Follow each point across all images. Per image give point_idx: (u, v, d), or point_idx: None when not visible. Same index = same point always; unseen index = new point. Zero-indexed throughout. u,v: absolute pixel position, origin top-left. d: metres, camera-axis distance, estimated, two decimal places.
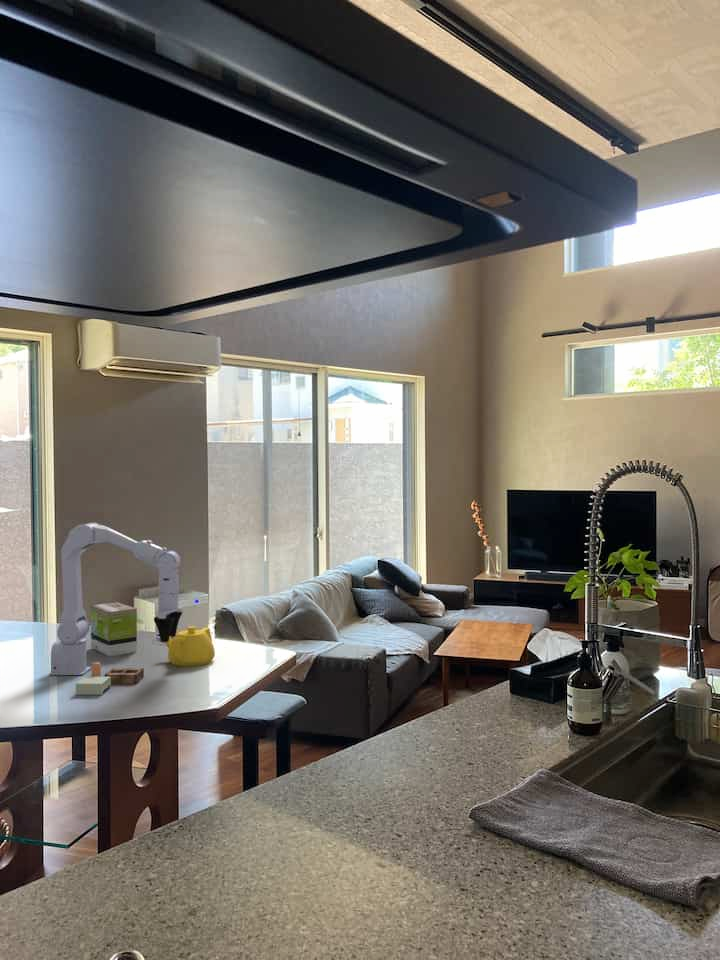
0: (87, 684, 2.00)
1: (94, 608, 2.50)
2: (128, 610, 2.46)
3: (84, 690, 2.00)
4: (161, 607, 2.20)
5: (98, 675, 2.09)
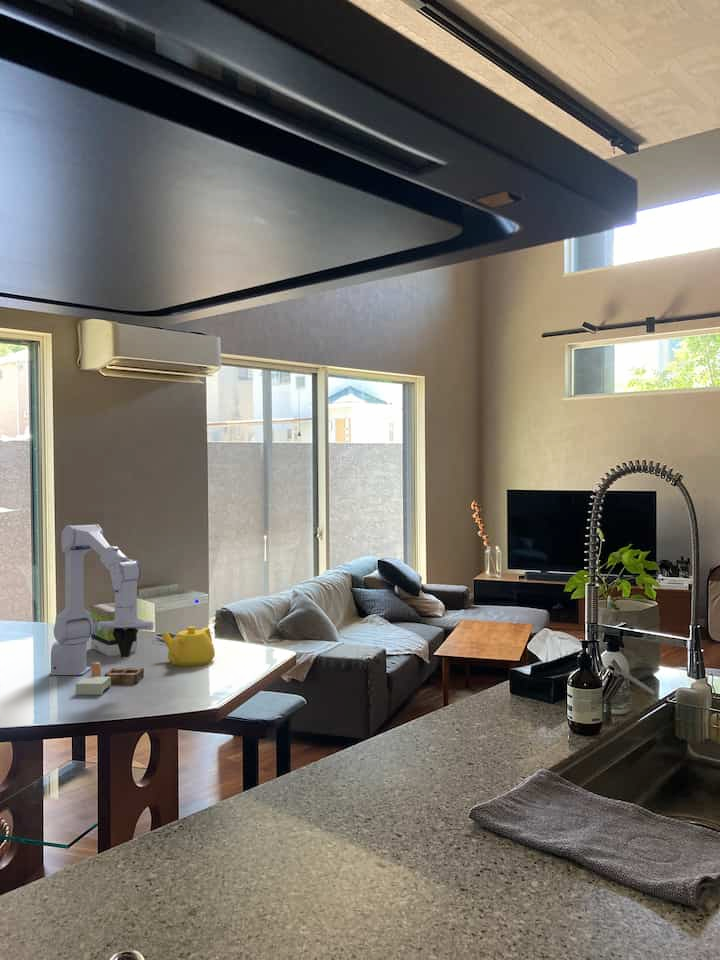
0: (87, 684, 2.00)
1: (94, 608, 2.50)
2: None
3: (84, 690, 2.00)
4: None
5: (98, 675, 2.09)
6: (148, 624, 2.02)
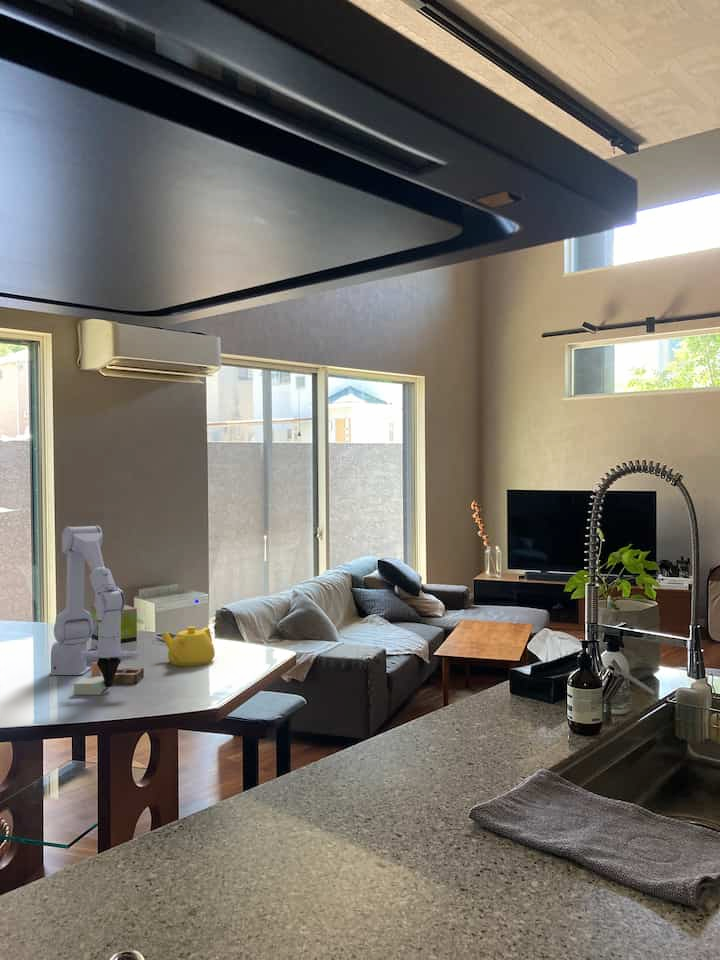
0: (85, 684, 2.00)
1: (94, 608, 2.50)
2: (128, 610, 2.46)
3: (82, 690, 2.00)
4: None
5: (98, 675, 2.09)
6: (132, 654, 2.02)
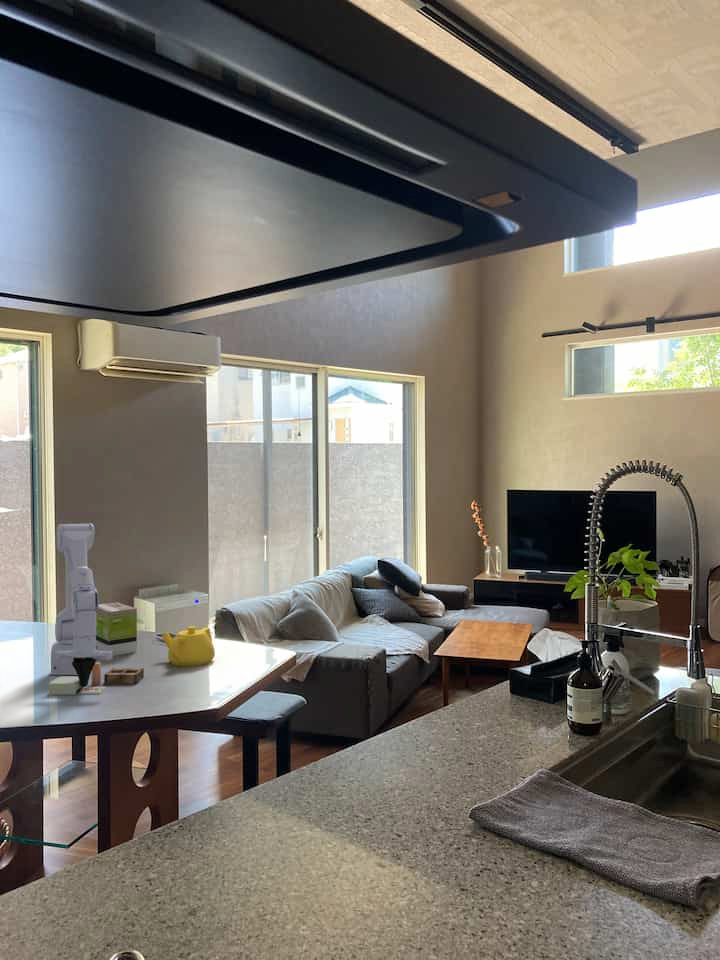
0: (60, 684, 2.00)
1: None
2: (128, 610, 2.46)
3: (57, 690, 2.00)
4: None
5: (98, 675, 2.09)
6: (107, 654, 2.02)
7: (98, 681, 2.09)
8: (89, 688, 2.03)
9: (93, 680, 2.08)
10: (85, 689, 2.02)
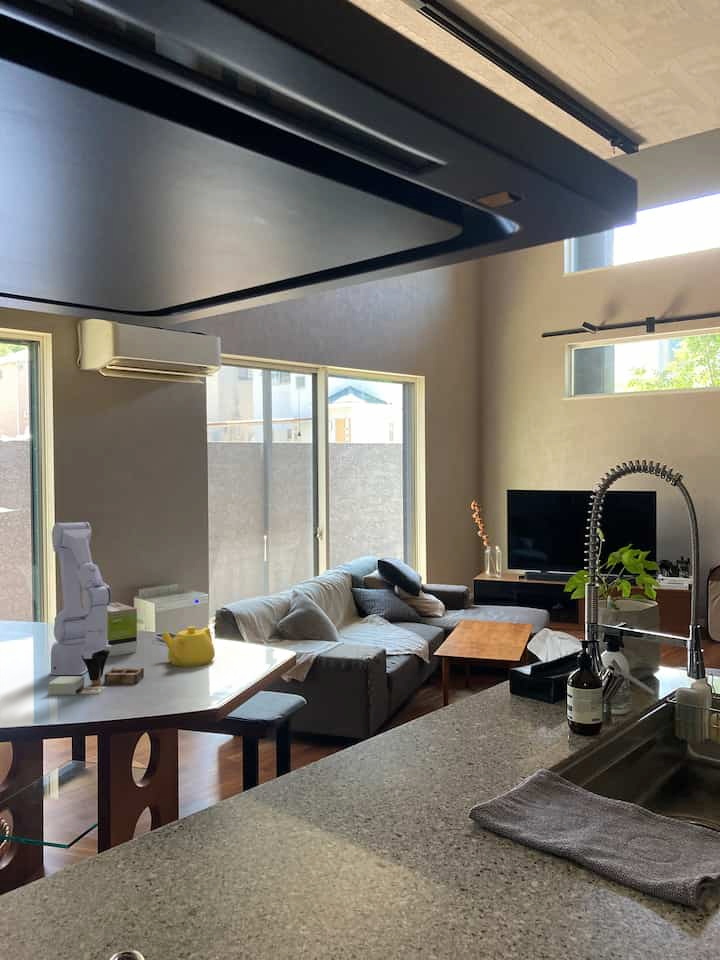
0: (60, 684, 2.00)
1: None
2: (128, 610, 2.46)
3: (56, 690, 2.00)
4: (88, 645, 2.07)
5: None
6: (107, 641, 2.16)
7: (98, 681, 2.09)
8: (89, 688, 2.03)
9: (93, 680, 2.08)
10: (85, 689, 2.02)
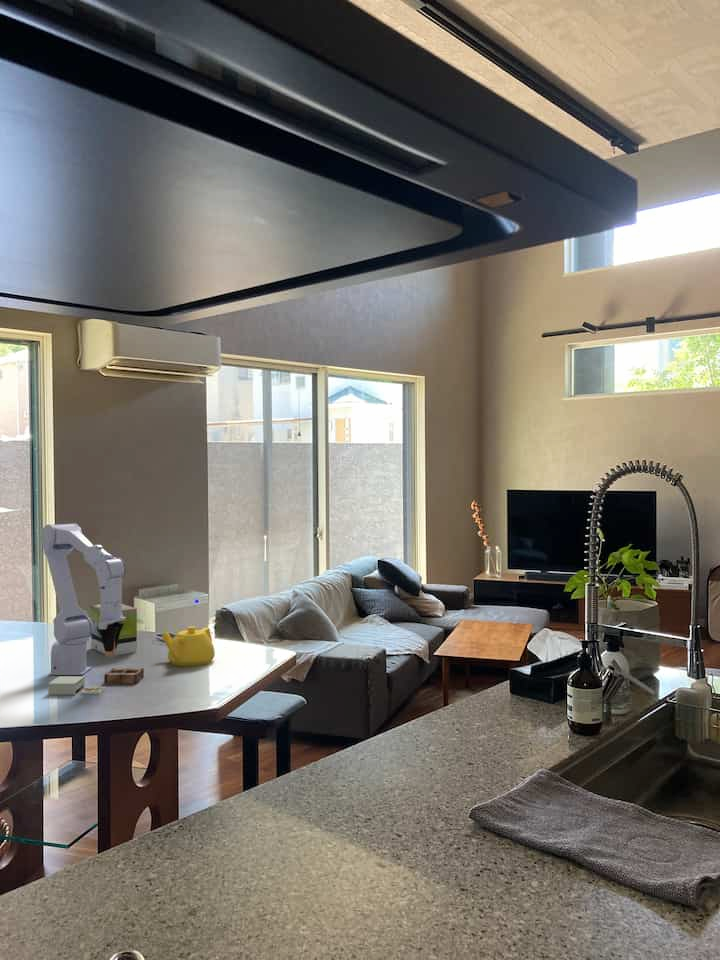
0: (60, 684, 2.00)
1: (94, 608, 2.50)
2: (128, 610, 2.46)
3: (56, 690, 2.00)
4: (102, 617, 2.10)
5: None
6: (121, 614, 2.19)
7: (113, 653, 2.12)
8: (89, 688, 2.03)
9: (108, 651, 2.11)
10: (85, 689, 2.02)
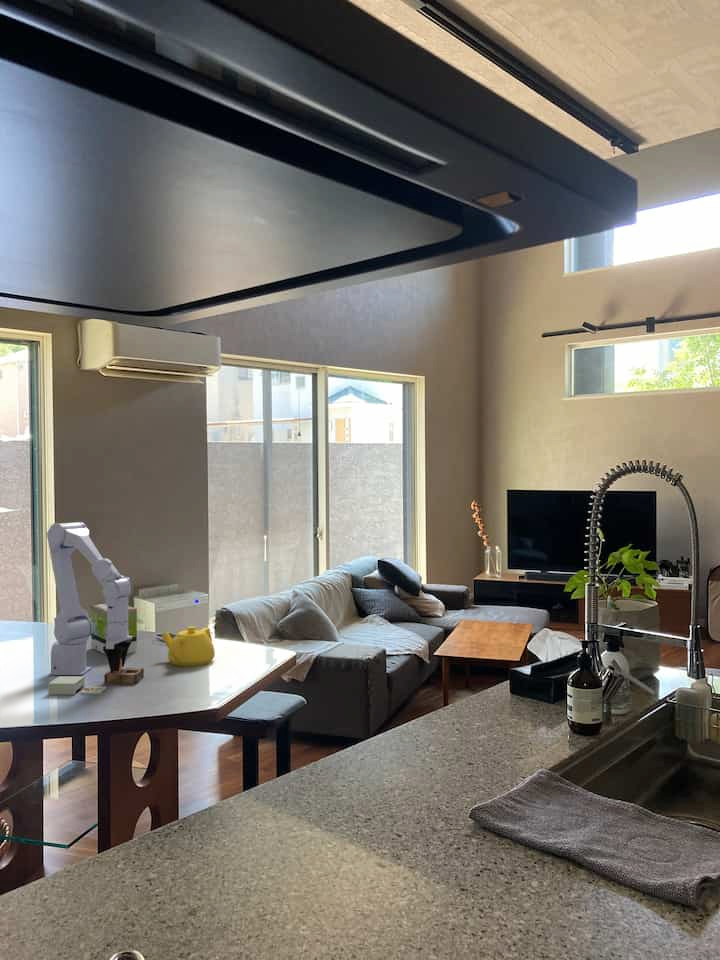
0: (60, 684, 2.00)
1: (94, 608, 2.50)
2: (128, 610, 2.46)
3: (56, 690, 2.00)
4: (109, 636, 2.12)
5: (119, 671, 2.13)
6: (128, 633, 2.21)
7: None
8: (89, 688, 2.03)
9: None
10: (85, 689, 2.02)
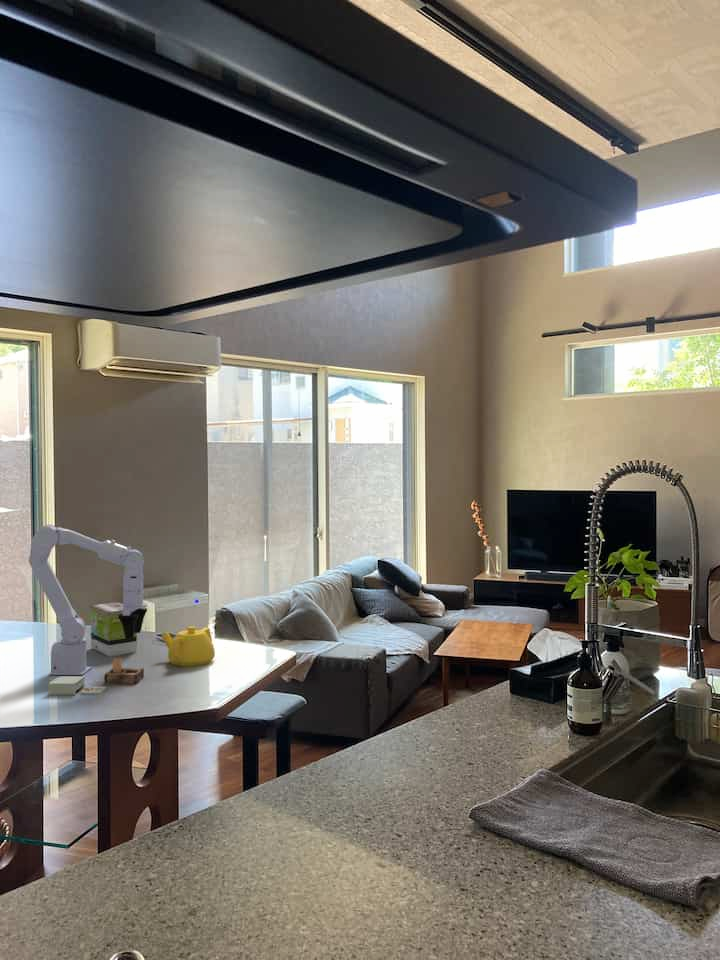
0: (60, 684, 2.00)
1: (94, 608, 2.50)
2: None
3: (56, 690, 2.00)
4: (126, 604, 2.25)
5: (119, 671, 2.13)
6: None
7: None
8: (89, 688, 2.03)
9: None
10: (85, 689, 2.02)
